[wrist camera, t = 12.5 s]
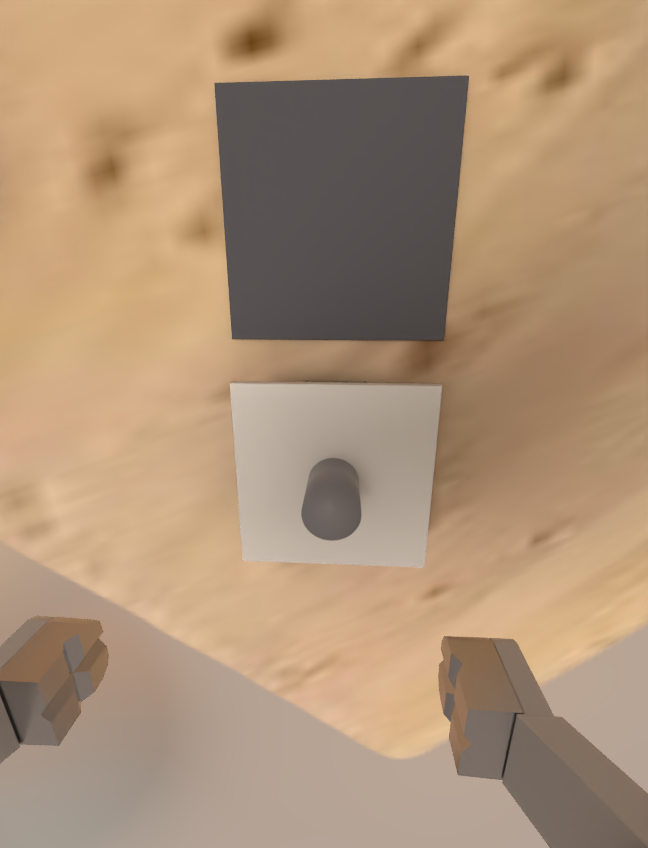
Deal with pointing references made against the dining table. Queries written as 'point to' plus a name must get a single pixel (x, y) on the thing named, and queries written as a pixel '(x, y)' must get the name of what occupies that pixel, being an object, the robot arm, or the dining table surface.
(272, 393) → the cover board
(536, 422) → the dining table surface
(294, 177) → the mat
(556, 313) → the dining table surface
